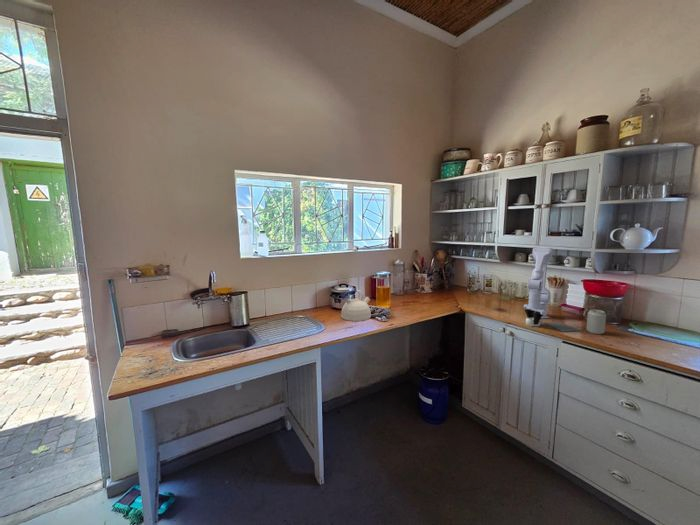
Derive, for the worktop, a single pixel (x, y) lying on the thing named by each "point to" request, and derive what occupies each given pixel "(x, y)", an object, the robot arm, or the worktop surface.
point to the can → (596, 321)
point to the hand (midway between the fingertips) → (533, 322)
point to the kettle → (356, 308)
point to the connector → (532, 322)
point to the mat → (561, 326)
